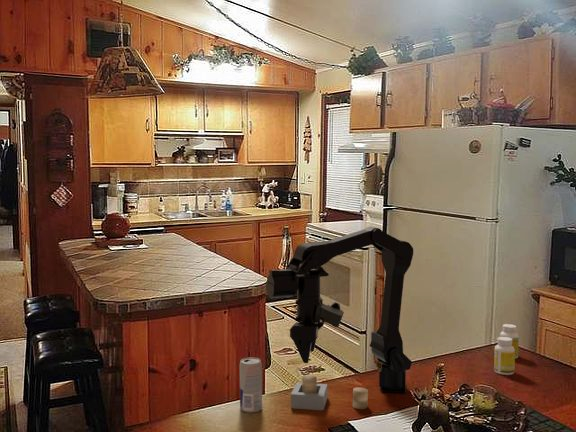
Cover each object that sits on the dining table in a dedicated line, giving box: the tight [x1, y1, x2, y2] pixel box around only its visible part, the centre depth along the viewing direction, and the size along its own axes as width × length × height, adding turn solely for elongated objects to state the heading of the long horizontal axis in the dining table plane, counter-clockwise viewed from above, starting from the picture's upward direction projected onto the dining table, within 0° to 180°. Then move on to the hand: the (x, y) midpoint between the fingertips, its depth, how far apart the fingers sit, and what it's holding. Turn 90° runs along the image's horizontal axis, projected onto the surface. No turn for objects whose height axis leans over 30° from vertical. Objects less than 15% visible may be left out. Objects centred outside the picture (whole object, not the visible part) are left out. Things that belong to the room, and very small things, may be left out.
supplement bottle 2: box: [493, 336, 516, 376], centre depth 162 cm, size 5×5×10 cm
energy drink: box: [239, 356, 263, 414], centre depth 138 cm, size 5×5×12 cm
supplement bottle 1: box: [499, 323, 520, 360], centre depth 176 cm, size 5×5×10 cm
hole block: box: [290, 382, 328, 411], centre depth 141 cm, size 8×8×4 cm
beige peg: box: [301, 374, 318, 393], centre depth 141 cm, size 4×4×6 cm
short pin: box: [352, 387, 369, 410], centre depth 139 cm, size 4×4×4 cm
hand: (308, 356), depth 141 cm, fingers open, 9 cm apart
